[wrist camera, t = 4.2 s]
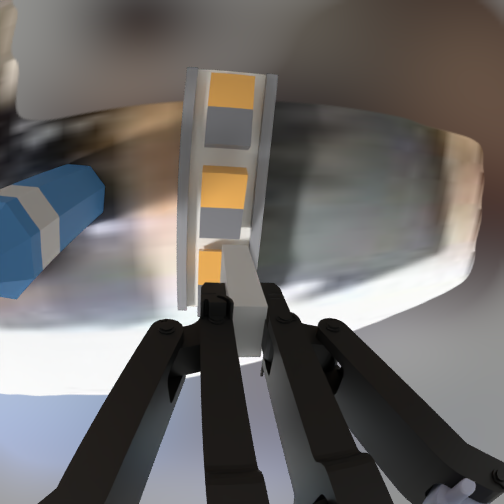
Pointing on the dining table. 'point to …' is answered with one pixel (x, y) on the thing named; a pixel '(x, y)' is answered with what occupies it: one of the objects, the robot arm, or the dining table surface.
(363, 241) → the dining table surface
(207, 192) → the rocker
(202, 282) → the rocker
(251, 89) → the rocker
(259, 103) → the power strip
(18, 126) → the dining table surface
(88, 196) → the water bottle
